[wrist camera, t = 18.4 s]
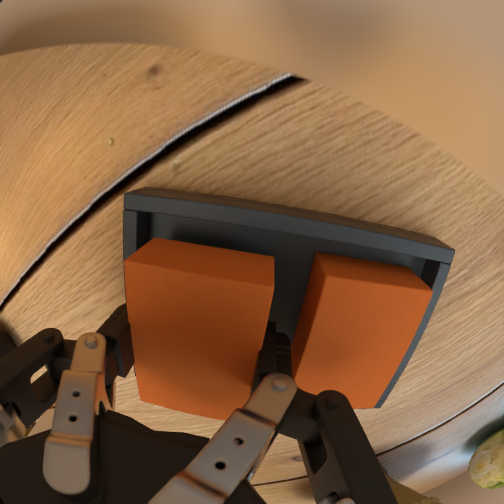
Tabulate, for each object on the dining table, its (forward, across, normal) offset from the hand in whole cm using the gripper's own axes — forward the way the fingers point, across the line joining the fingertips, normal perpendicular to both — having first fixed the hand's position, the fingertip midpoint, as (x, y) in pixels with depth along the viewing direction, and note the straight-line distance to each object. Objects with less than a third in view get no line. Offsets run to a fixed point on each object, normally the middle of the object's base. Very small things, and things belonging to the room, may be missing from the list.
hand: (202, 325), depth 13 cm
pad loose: (+1, 0, 0) cm, 1 cm away
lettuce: (+3, -44, +20) cm, 48 cm away
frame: (+3, -4, 0) cm, 5 cm away
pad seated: (+2, -8, 0) cm, 8 cm away
